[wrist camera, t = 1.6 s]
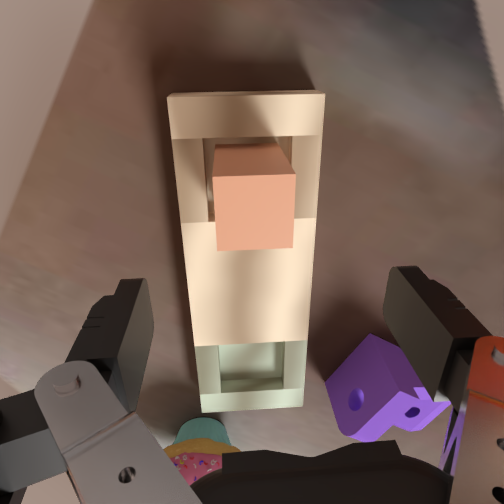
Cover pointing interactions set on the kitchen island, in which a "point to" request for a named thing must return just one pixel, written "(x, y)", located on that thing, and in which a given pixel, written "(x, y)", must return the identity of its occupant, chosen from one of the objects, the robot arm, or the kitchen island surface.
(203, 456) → the cupcake
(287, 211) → the salmon orange rectangular block
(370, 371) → the bracket
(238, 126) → the rail
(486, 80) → the kitchen island surface
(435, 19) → the kitchen island surface
